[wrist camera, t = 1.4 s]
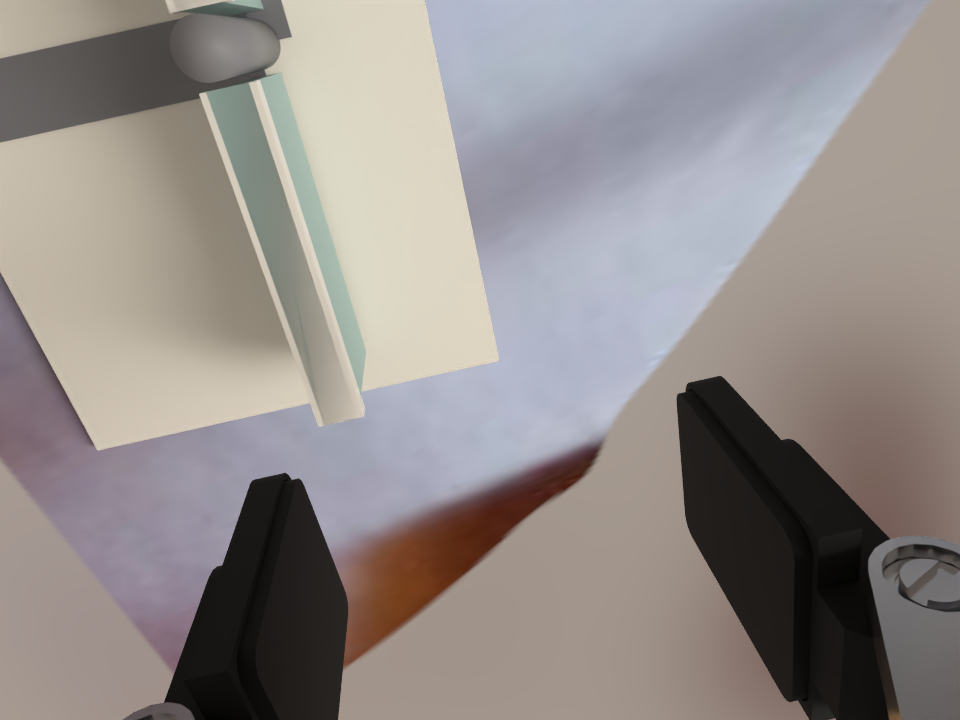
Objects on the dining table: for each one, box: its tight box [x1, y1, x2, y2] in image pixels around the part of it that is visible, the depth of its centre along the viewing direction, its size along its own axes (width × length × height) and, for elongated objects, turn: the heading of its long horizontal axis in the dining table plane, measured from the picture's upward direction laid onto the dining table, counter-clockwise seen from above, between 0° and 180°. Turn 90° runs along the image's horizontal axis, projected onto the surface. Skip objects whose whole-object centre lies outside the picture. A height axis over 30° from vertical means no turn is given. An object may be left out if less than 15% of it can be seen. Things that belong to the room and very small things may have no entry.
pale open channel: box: [199, 72, 366, 427], centre depth 24 cm, size 2×11×6 cm, turn 11°
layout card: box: [0, 0, 499, 451], centre depth 23 cm, size 18×29×1 cm, turn 11°
